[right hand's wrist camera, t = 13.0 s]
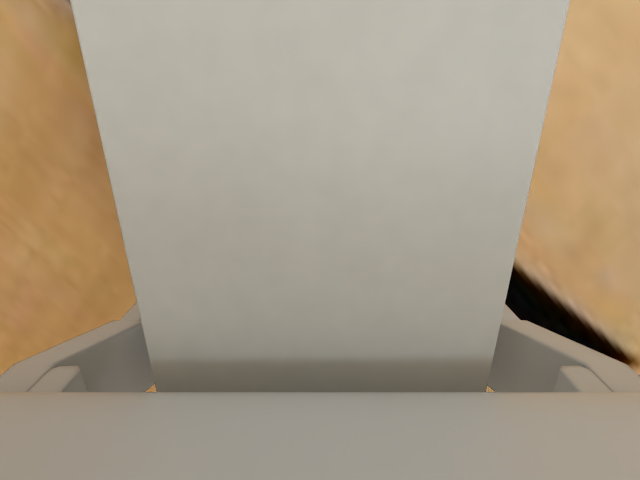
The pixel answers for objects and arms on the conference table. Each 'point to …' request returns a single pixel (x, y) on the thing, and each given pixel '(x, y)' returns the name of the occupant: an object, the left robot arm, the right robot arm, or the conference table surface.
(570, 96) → the conference table surface
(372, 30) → the box
